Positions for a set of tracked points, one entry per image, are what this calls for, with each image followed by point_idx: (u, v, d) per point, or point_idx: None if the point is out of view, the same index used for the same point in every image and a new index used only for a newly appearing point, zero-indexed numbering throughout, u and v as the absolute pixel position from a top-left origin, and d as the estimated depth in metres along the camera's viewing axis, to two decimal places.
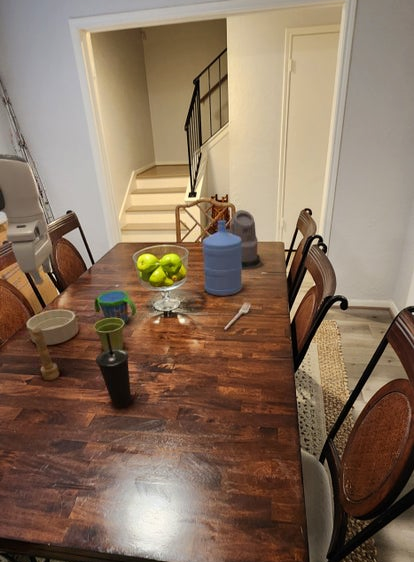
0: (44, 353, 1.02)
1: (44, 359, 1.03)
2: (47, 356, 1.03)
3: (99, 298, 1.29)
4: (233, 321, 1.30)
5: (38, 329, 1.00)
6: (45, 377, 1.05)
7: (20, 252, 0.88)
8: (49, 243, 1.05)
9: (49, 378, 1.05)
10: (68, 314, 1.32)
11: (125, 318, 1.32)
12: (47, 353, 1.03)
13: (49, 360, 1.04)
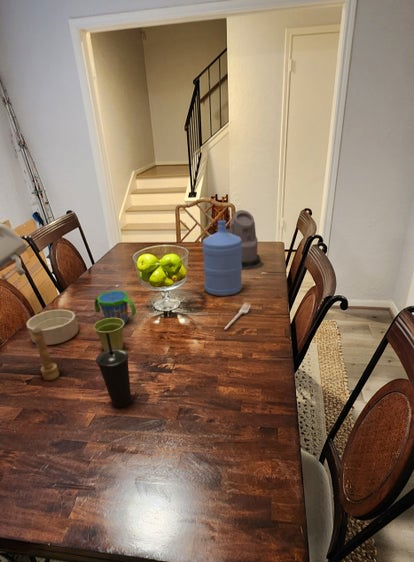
0: (44, 353, 1.02)
1: (44, 359, 1.03)
2: (47, 356, 1.03)
3: (99, 298, 1.29)
4: (233, 321, 1.30)
5: (38, 329, 1.00)
6: (45, 377, 1.05)
7: None
8: None
9: (49, 378, 1.05)
10: (68, 314, 1.32)
11: (125, 318, 1.32)
12: (47, 353, 1.03)
13: (49, 360, 1.04)
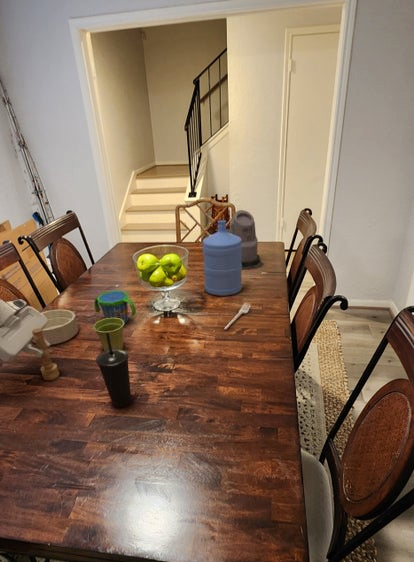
0: (44, 353, 1.02)
1: (44, 359, 1.03)
2: (47, 356, 1.03)
3: (99, 298, 1.29)
4: (233, 321, 1.30)
5: (39, 329, 1.00)
6: (45, 377, 1.05)
7: None
8: None
9: (49, 378, 1.05)
10: (68, 314, 1.32)
11: (125, 318, 1.32)
12: (47, 353, 1.03)
13: (49, 360, 1.04)
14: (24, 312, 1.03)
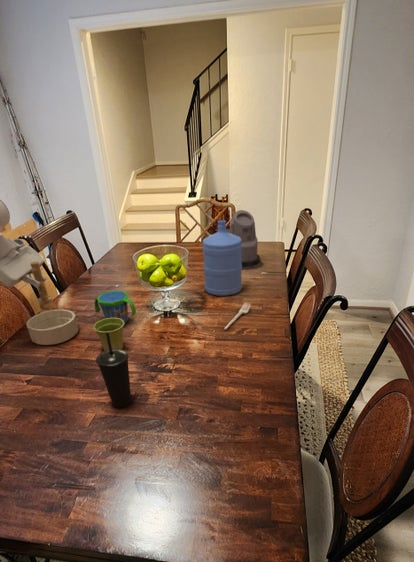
0: (41, 284, 1.18)
1: (41, 290, 1.19)
2: (43, 287, 1.19)
3: (99, 298, 1.29)
4: (233, 321, 1.30)
5: (36, 262, 1.16)
6: (42, 307, 1.21)
7: None
8: None
9: (45, 307, 1.21)
10: (68, 314, 1.32)
11: (125, 318, 1.32)
12: (43, 284, 1.19)
13: (45, 291, 1.20)
14: (23, 249, 1.19)
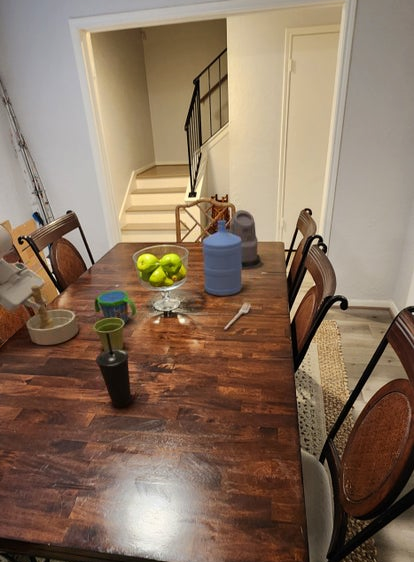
0: (41, 307, 1.22)
1: (41, 313, 1.23)
2: (44, 310, 1.23)
3: (99, 298, 1.29)
4: (233, 321, 1.30)
5: (36, 286, 1.19)
6: (42, 328, 1.25)
7: None
8: None
9: None
10: (68, 314, 1.32)
11: (125, 318, 1.32)
12: (44, 307, 1.23)
13: (45, 314, 1.24)
14: (24, 273, 1.23)
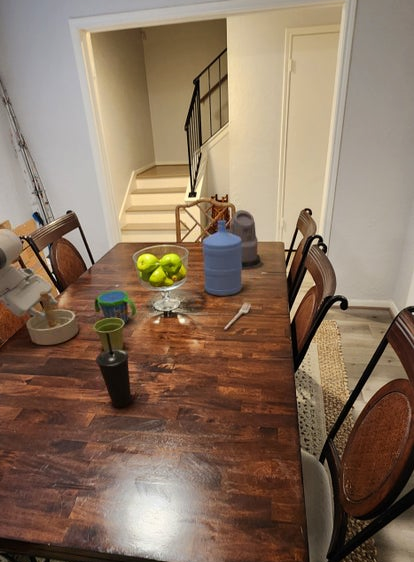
0: (50, 312, 1.24)
1: (49, 318, 1.24)
2: (52, 315, 1.24)
3: (99, 298, 1.29)
4: (233, 321, 1.30)
5: (45, 291, 1.21)
6: None
7: None
8: None
9: None
10: (68, 314, 1.32)
11: (125, 318, 1.32)
12: (52, 312, 1.24)
13: (53, 319, 1.25)
14: (32, 278, 1.24)
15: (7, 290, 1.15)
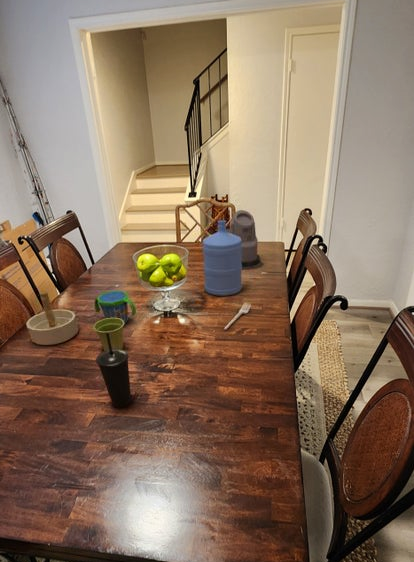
0: (50, 312, 1.24)
1: (49, 318, 1.24)
2: (52, 315, 1.24)
3: (99, 298, 1.29)
4: (233, 321, 1.30)
5: (45, 291, 1.21)
6: None
7: None
8: None
9: None
10: (68, 314, 1.32)
11: (125, 318, 1.32)
12: (52, 312, 1.24)
13: (53, 319, 1.25)
14: None
15: None
